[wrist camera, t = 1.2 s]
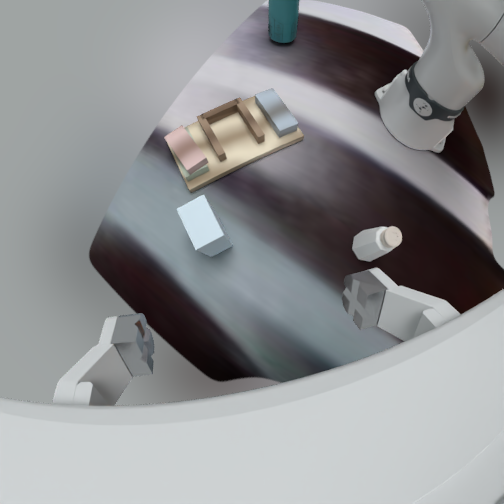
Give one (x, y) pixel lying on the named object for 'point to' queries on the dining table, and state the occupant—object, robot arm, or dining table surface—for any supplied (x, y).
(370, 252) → the pepper shaker
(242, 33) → the dining table surface
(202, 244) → the pale blue upright box
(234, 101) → the block display stand
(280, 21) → the beverage bottle
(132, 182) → the dining table surface
